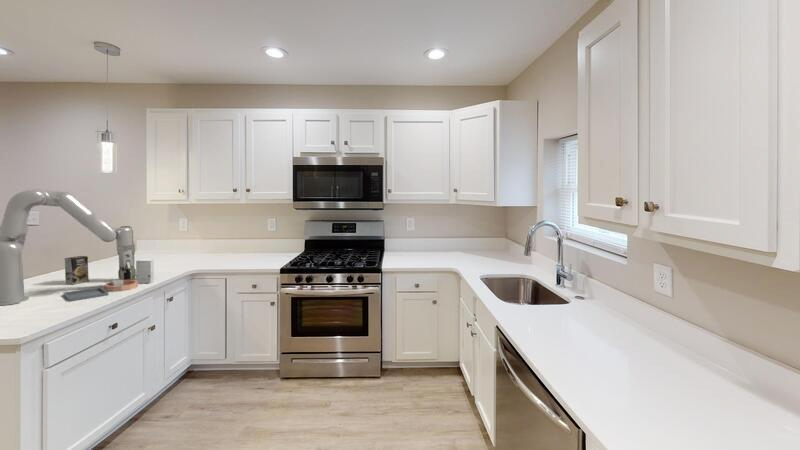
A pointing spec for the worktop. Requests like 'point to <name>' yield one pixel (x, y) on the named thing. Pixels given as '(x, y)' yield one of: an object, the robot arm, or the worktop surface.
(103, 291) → the tray
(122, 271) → the pebble
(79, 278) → the coffee box
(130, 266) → the thermos
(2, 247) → the robot arm
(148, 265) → the skincare box
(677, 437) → the worktop surface
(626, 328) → the worktop surface
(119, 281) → the pebble
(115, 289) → the bowl
